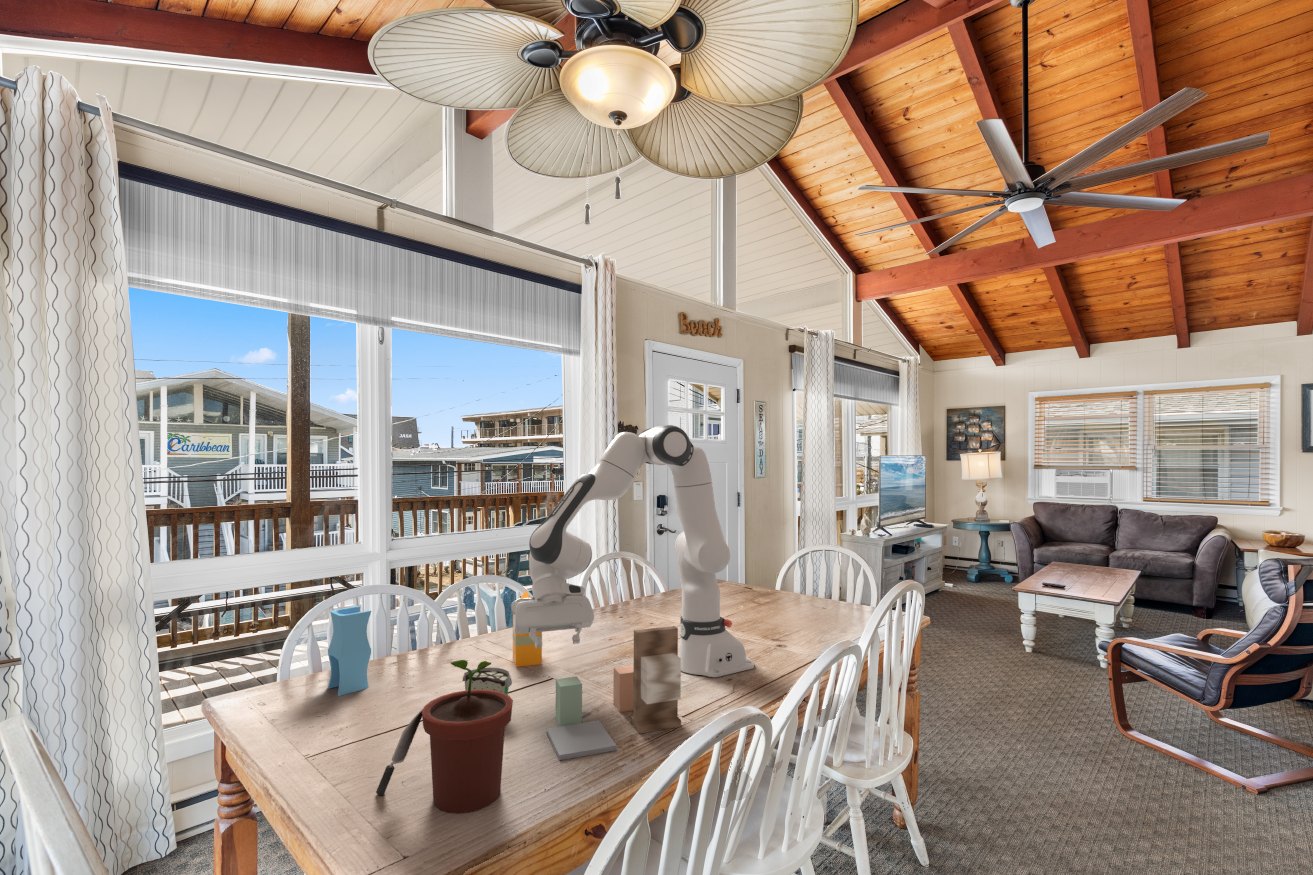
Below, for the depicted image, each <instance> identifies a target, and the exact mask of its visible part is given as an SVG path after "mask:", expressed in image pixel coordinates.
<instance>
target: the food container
mask: <svg viewBox="0 0 1313 875" xmlns="http://www.w3.org/2000/svg"><path fill="white" fill-rule="evenodd" d="M476 669H477V668H474V669H470V670H471V672H472V673H473V672H474V671H476ZM462 676H463V677H462V682H464V691H465V690H468V686H469V678H470V673H469V671H465V672H464V674H463V675H462ZM512 684H513V680H512V675H511V674H510V672H509V671H508V670H507V669H505V668H500V667H485V668H484V669H482V670H480V671H478V672H476V673H475V674H474V675H473V677H472V683H471V690H478V689H481V690H494V691H498V692H503V693H505V694H507V695H509V688H510V687H511V686H512Z"/></svg>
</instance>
